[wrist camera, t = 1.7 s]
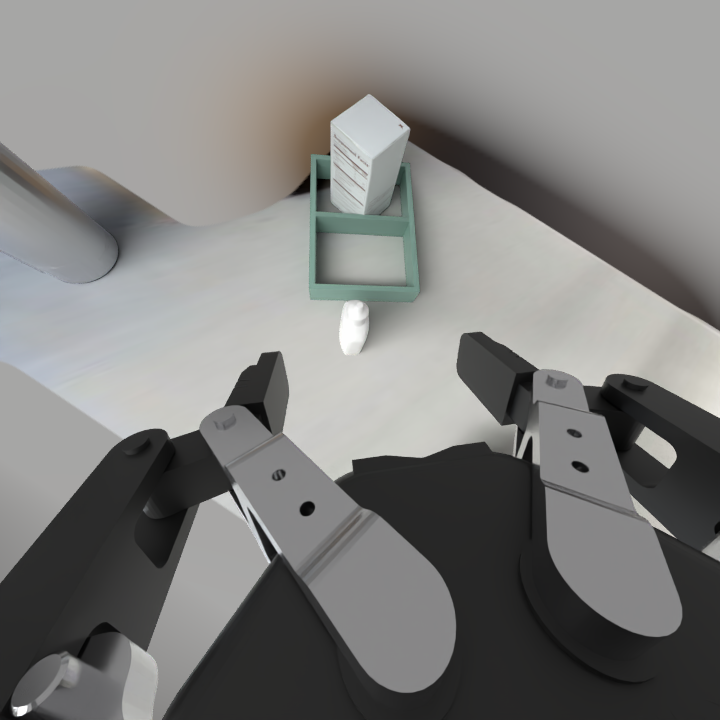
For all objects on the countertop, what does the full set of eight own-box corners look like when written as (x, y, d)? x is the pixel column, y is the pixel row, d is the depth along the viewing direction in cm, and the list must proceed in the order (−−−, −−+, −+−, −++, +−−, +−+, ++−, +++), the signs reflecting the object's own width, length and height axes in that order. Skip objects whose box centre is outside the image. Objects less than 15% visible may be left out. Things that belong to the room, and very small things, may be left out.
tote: (310, 299, 40) (308, 288, 37) (312, 174, 45) (311, 154, 41) (412, 302, 42) (419, 292, 39) (403, 181, 47) (409, 163, 43)
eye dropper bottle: (329, 348, 39) (329, 318, 27) (345, 315, 40) (351, 274, 29) (356, 360, 39) (368, 336, 27) (371, 328, 40) (388, 292, 29)
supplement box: (359, 178, 45) (370, 90, 33) (390, 206, 45) (413, 128, 33) (328, 202, 44) (328, 119, 31) (360, 231, 43) (373, 158, 31)
